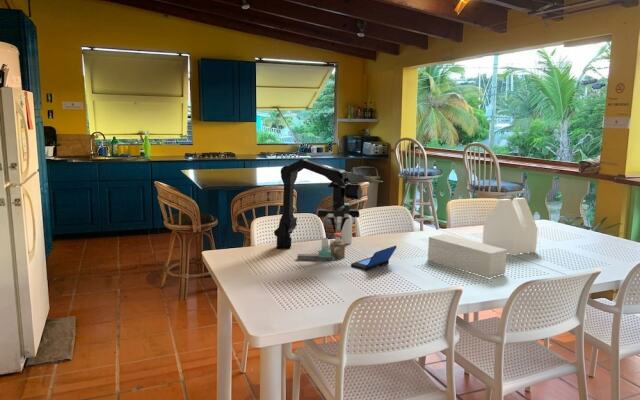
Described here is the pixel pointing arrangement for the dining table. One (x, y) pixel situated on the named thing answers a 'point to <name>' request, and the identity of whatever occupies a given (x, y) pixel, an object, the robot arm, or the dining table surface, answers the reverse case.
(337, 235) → the plunger
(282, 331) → the dining table surface
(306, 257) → the rail
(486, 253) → the beige long block
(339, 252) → the cabinet
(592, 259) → the dining table surface
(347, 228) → the milk bottle
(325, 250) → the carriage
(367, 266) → the handheld game console
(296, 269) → the dining table surface
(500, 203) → the beige tapered block
